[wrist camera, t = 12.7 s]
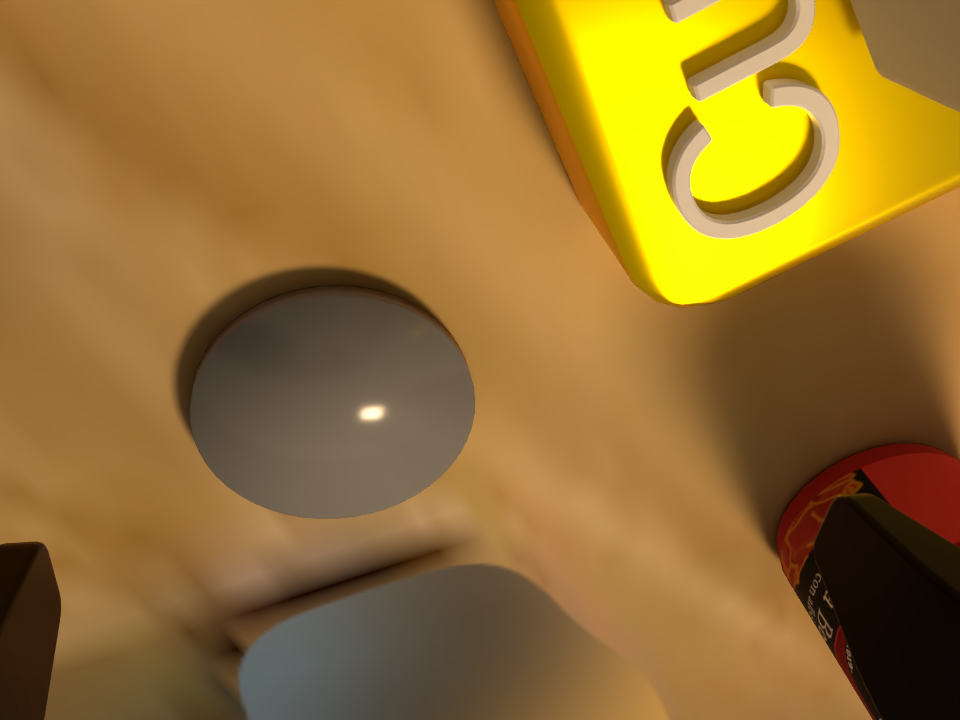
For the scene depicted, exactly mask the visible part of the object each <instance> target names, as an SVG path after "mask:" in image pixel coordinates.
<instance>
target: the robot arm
mask: <svg viewBox="0 0 960 720" xmlns="http://www.w3.org/2000/svg"><path fill="white" fill-rule="evenodd" d="M813 547H814V557H815V561H816V564H817V567H818V569H819V572H820V574H821V577H822V580H823V582H824V585H825V587H826V590H827V593H828V595H829V598H830V601H831V603H832V606H833V608H834V611H835V614H836V616H837V619H838V621H839V624H840V627H841V629H842V632H843V634H844V637H845V640H846V642H847V645H848V647H849V650H850V653H851V655H852V658H853V660H854V662H855V665H856V667H857V670H858V672H859V674H860V676H861V678H862V681H863V683H864V685H865V687H866V689H867V691H868V693H869V695H870V697H871V699H872V701H873V703H874V705H875V707H876V709H877V711H878V713H879V715H880V717H881V719H882V720H960V547H958V546H956V545H955V544H953V543H951V542H950V541H948V540H947V539H945V538H943V537H942V536H940V535H938V534H937V533H935V532H933V531H932V530H930V529H929V528H927V527H925V526H924V525H922V524H920V523H919V522H917V521H915V520H914V519H912V518H911V517H909V516H907V515H906V514H904V513H902V512H901V511H899V510H897V509H896V508H894V507H893V506H891V505H889V504H888V503H886V502H884V501H883V500H881V499H879V498H878V497H876V496H874V495H872V494H867V493H859V494H842V495H839V496H838V497H836V498H835V499H834V500H833V501H832V503H831V505H830V507H829V509H828V512H827V514H826V516H825V518H824V520H823V522H822V525H821V527H820V529H819V531H818V533H817V535H816V538H815V540H814V546H813ZM60 616H61V598H60V592H59V589H58V585H57V581H56V578H55V574H54V570H53V567H52V563H51V559H50V556H49V552H48V550H47V548H46V546H45V545H44V544H43V543H41V542H21V543H5V544H1V545H0V720H44V718H45V711H46V705H47V699H48V692H49V686H50V680H51V673H52V667H53V661H54V654H55V648H56V642H57V636H58V629H59V623H60Z"/></svg>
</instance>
